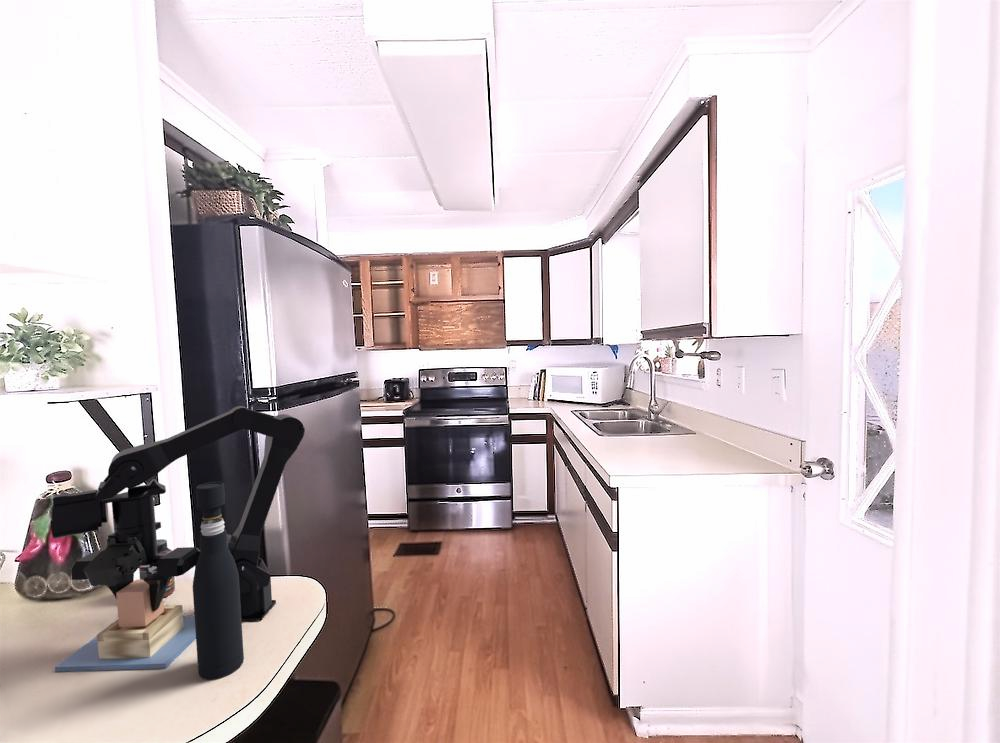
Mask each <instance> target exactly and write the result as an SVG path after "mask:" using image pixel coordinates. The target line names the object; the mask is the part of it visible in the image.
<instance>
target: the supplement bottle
mask: <svg viewBox="0 0 1000 743" xmlns="http://www.w3.org/2000/svg"><path fill="white" fill-rule="evenodd" d="M167 541H168V540H167V539H161V538H160V539H157V545H159V544H162V546H163V550H162V551H160V552H159V553H158V555H167V554H168V553H170V552H171V551H173V550H172V549H171V548H169V547H168V542H167ZM138 569H139V570H138V571H139V572H138V573H139V580H142V579H145V578H146V577H148V576H149V575H151V574H152V571H153V570H152V568H138ZM175 579H176V577H172V578H171V580H170V582H169V584H168V587H167V589H166V591H165V594H164V596H163V599H164V598H167V597H169V596H170V595H171V594H173V593H174V592H175V589H176V581H175Z"/></svg>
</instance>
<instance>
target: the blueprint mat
mask: <svg viewBox="0 0 1000 743" xmlns="http://www.w3.org/2000/svg"><path fill="white" fill-rule="evenodd" d="M183 625H184V627H183V628H182V629H181V630H180V631H179V632H178V633H177V634H175V635H174V636H173V637H172V638H171V639H170V640H169V641H168V642H167V643H166V644H164V645H163V646H162V647H161V648H160V649H159V650H158V651H157V652H156V653H154V654H153V655H152V656H151V657H142V658H110V659H99V652H98V640H97V635H96V636H95V637H94V638H92V639H90V641H88V642H87V643H85V644H84V645H82V646H81V647H80V648H78V649H77V650H75V651H74V652H73V653H72V654H70V655H69V656H68V657H66V658H64V659H63V660H62V661H61V662H59V663H58V664H57V665H55V666H54V672H55V673H59V672H61V673H63V672H87V671H88V672H89V671H90V672H91V671H94V672H95V671H119V670H121V671H122V670H123V671H124V670H149V669H153V670H154V669H167V668H168V667H169V666H170V665H171V664H172V663H173V662H175V660H177V658H178V657H179V656H180V655H182V653H184V651H186V649H187V648H188V647H189V646H190V645H191V644H192V643H193V642H195V641H196V631H195V616H194V615H183ZM174 659H175V660H174Z"/></svg>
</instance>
